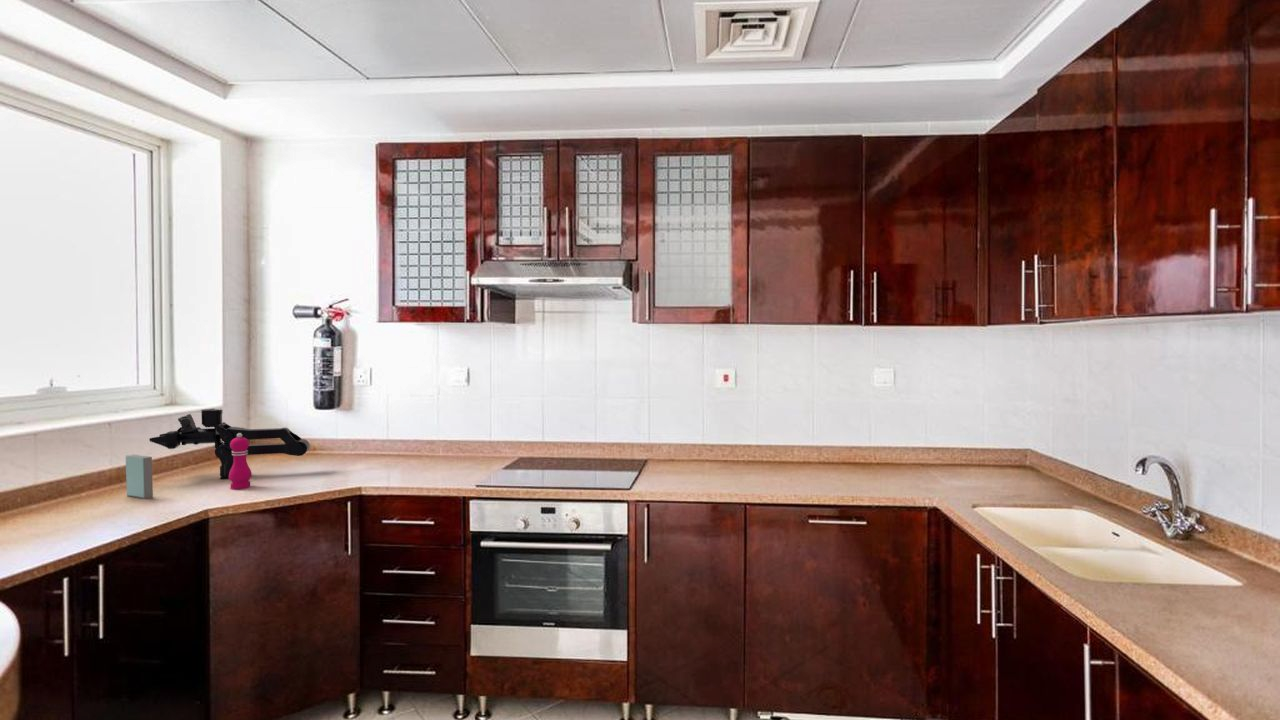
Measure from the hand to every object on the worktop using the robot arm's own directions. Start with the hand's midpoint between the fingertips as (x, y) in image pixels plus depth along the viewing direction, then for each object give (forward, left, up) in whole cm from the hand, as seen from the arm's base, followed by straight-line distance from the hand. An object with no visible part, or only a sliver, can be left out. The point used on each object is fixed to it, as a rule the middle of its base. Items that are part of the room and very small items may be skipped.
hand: (154, 437), depth 249 cm
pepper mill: (-33, +20, -17) cm, 42 cm away
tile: (-4, +25, -17) cm, 31 cm away
